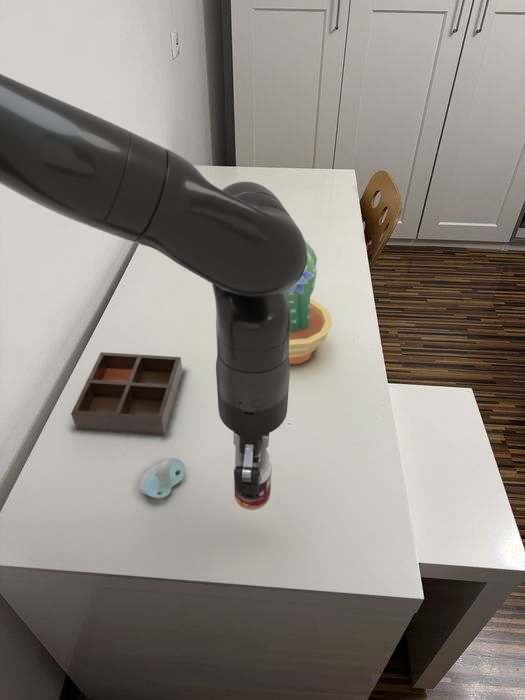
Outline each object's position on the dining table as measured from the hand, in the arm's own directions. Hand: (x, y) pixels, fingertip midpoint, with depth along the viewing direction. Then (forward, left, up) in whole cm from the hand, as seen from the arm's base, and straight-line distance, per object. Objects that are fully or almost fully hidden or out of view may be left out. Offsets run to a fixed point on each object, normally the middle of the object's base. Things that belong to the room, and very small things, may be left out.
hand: (252, 476), depth 63 cm
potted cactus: (+32, +24, -14) cm, 43 cm away
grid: (+1, +34, -14) cm, 37 cm away
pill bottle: (0, 0, -5) cm, 5 cm away
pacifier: (-5, +16, -14) cm, 22 cm away
